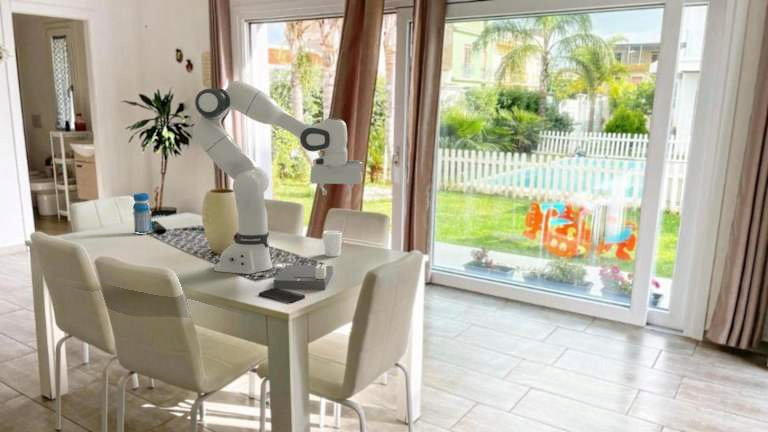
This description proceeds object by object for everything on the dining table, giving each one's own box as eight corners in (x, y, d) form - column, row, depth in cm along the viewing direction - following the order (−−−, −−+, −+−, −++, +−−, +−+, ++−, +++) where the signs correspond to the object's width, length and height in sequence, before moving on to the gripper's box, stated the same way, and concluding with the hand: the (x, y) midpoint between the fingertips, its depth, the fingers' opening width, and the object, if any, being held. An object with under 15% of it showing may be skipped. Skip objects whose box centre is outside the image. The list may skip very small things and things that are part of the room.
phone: (273, 287, 200) (306, 295, 191) (273, 290, 200) (306, 298, 192) (256, 293, 193) (290, 301, 185) (256, 296, 193) (290, 305, 185)
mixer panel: (273, 288, 201) (273, 279, 201) (286, 272, 221) (286, 264, 220) (325, 289, 200) (324, 281, 200) (332, 273, 220) (332, 265, 219)
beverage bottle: (141, 236, 282) (138, 195, 278) (130, 234, 286) (128, 194, 283) (156, 233, 289) (153, 193, 285) (145, 231, 293) (143, 192, 290)
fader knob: (315, 279, 201) (315, 267, 201) (318, 275, 206) (317, 263, 206) (324, 279, 201) (324, 267, 200) (326, 275, 206) (326, 264, 205)
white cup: (339, 257, 244) (338, 234, 242) (321, 256, 246) (321, 233, 244) (344, 253, 252) (343, 230, 250) (326, 252, 253) (326, 230, 251)
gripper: (363, 159, 227) (363, 194, 229) (312, 158, 228) (312, 193, 230) (361, 160, 220) (361, 196, 223) (309, 160, 222) (309, 195, 224)
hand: (336, 195), depth 227 cm, fingers open, 8 cm apart
